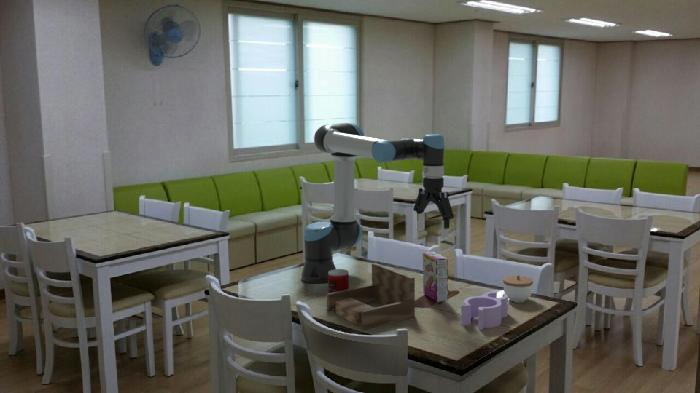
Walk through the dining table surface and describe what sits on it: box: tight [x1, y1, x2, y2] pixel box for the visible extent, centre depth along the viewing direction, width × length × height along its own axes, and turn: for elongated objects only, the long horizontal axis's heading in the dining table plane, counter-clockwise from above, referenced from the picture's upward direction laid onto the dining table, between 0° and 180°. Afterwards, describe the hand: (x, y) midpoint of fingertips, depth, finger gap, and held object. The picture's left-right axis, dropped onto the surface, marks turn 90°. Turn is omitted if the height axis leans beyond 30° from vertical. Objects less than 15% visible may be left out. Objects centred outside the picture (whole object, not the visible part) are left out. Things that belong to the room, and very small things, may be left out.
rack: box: [326, 262, 416, 330], centre depth 225 cm, size 24×21×14 cm
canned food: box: [327, 268, 350, 293], centre depth 241 cm, size 8×8×11 cm
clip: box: [460, 291, 509, 331], centre depth 217 cm, size 20×12×7 cm, turn 138°
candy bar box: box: [422, 251, 449, 303], centre depth 238 cm, size 11×5×16 cm, turn 21°
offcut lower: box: [335, 309, 361, 326], centre depth 223 cm, size 14×7×2 cm, turn 31°
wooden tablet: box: [415, 289, 460, 309], centre depth 241 cm, size 26×2×10 cm
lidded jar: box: [502, 274, 534, 303], centre depth 236 cm, size 11×11×9 cm
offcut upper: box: [335, 298, 375, 319], centre depth 222 cm, size 14×7×2 cm, turn 35°
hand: (432, 233), depth 236 cm, fingers open, 13 cm apart
